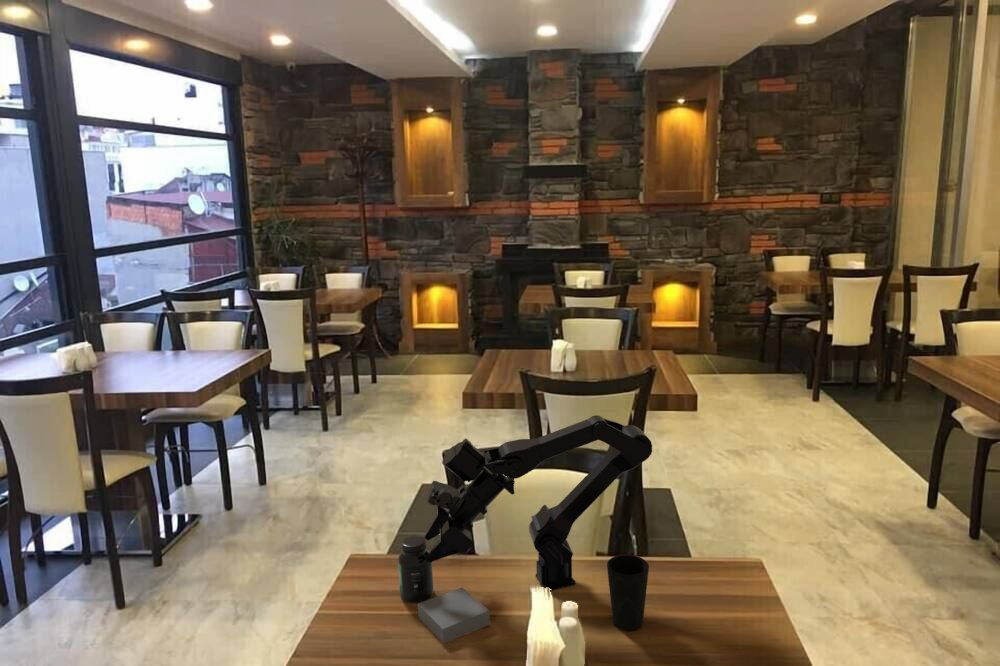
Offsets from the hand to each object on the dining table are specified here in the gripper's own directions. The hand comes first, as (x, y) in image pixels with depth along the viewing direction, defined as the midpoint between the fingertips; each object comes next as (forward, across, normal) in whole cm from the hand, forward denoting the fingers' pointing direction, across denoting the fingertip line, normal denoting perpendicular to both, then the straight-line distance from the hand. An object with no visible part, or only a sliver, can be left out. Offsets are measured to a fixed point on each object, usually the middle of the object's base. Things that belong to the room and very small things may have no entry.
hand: (426, 549), depth 151 cm
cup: (-19, +17, +33) cm, 42 cm away
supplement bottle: (+9, 0, +5) cm, 10 cm away
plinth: (+4, +11, +10) cm, 15 cm away
